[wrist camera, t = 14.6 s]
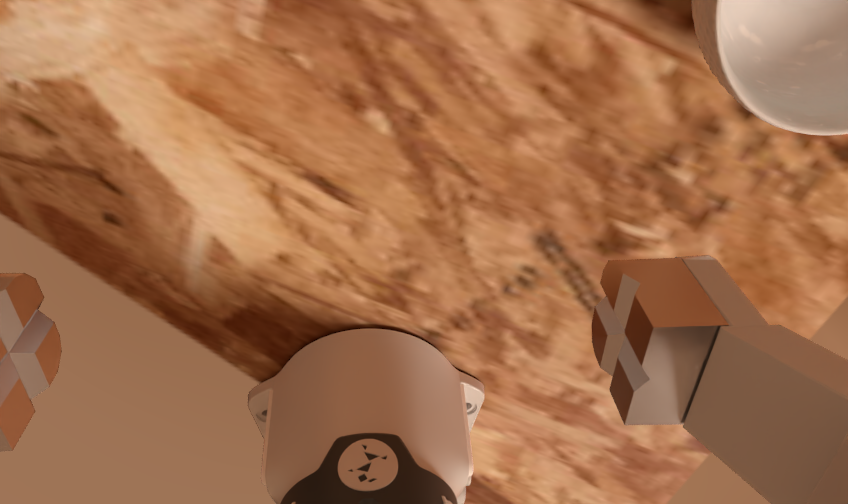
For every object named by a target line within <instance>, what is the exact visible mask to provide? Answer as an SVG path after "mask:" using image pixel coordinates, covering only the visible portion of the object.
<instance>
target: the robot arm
mask: <svg viewBox="0 0 848 504" xmlns="http://www.w3.org/2000/svg"><path fill="white" fill-rule="evenodd" d="M600 284H601V286H602V288H603V290H604V292H605V294H606V297H604V298H603V299H602V300H601V301H600V302H599V303H598V304H597V305H596V306H595V309H594V314H593V320H592V343H593V348H594V352H595V356H596V358H597V361H598V363H599V366H600V368H602V369H603V370H604V371H606V372H607V373H609V374H610V375H611V376H613V378H612V382H611V386H610V392H611V395H612V397H613V399H614V402H615V404H616V406H617V409H618V411H619V413H620V416H621V418H622V420H623V423H624V425H668V424H684V425H683V428H685V429H686V430H687V431H688V432H689V433H690V434H691V435H693V436H694V437H695V438H696V439H697V440H698V441H700V442H701V443H702V444H703V445H704V446H705V447H706V448H708V449H709V450H710V451H711V452H712V453H713V454H714V455H716V456H717V457H718V458H719V459H720V460H722V461H723V462H724V463H725V464H726V465H727V466H728V467H729V468H731V469H732V470H733V471H734V472H735V473H736V474H738V475H739V476H740V477H741V478H742V479H743V480H744V481H746V482H747V483H748V484H749V485H750V486H751V487H752V488H754V489H755V490H756V491H757V492H758V493H759V494H760V495H762V496H763V497H764V498H765V499H766V500H767V501H769V502H770V503H771V504H848V360H847V359H845V358H843V357H841V356H839V355H837V354H835V353H833V352H831V351H829V350H828V349H826V348H824V347H822V346H820V345H818V344H816V343H814V342H812V341H810V340H808V339H806V338H804V337H802V336H800V335H799V334H797V333H795V332H793V331H791V330H789V329H787V328H785V327H783V326H781V325H769V324H768V323H767V322H766V321H765V319H764V318H763V317H762V316H761V314H760V313H759V312H758V311H757V309H756V308H755V307H754V306H753V304H752V303H751V302H750V301H749V299H748V298H747V297H746V296H745V294H744V293H743V292H742V291H741V289H740V288H739V287H738V286H737V284H736V283H735V282H734V281H733V279H732V278H731V277H730V276H729V274H728V273H727V272H726V271H725V269H724V268H723V267H722V266H721V264H720V263H719V262H718V261H717V260H716V259H715V258H713V257H711V256H709V255H707V256H688V257H675V258H663V259H635V260H608V262H607V264H606V265H605V267H604V269H603V273H602V277H601V282H600ZM43 299H44V296H43V294H42V291H41V289H40V287H39V285H38V283H37V281H36V279H35V278H33V277H31V276H29V275H27V274H25V273H0V451H12V450H13V449H14V447H15V446H16V444H17V442H18V441H19V438H20V437H21V435H22V434H23V432H24V430H25V429H26V427H27V425H28V423H29V422H30V420H31V418H32V416H33V414H34V413H35V409H34V407H33V404H32V401H31V399H32V398H34V397H35V396H37V395H38V394H40V393H41V392H43V391H44V390H46V389H47V388H48V387H50V385H51V383H52V381H53V379H54V377H55V376H56V374H57V372H58V368H59V363H60V357H61V352H62V351H61V343H60V335H59V333H58V330H57V328H56V325H55V323H54V322H53V321H52V320H51V319H49V318H48V317H47V316H45V315H44V314H43V313H41V312H40V311H39V310H38V309H39V307H40V305H41V303H42V301H43ZM483 401H484V386H483V384H482V383H481V382H480V381H478V380H477V379H475V378H473V377H471V376H469V375H467V374H465V373H462V372H460V371H458V370H457V369H456V368H454V367H453V366H452V365H451V363H450V362H449V361H448V360H447V359H446V358H445V356H444V355H443V354H442V353H441V352H439V351H438V350H437V349H436V348H434V347H433V346H432V345H430V344H428V343H427V342H425V341H423V340H421V339H419V338H417V337H414V336H412V335H409V334H405V333H402V332H398V331H392V330H386V329H355V330H348V331H342V332H338V333H334V334H331V335H328V336H325V337H323V338H320V339H318V340H316V341H314V342H312V343H310V344H308V345H307V346H305V347H304V348H302V349H301V350H300V351H298V352H297V353H296V354H295V355H294V356H293V357H292V358H291V359H290V360H289V361H288V362H287V364H286V365H285V366H284V367H283V369H282V370H281V371H280V372H279V373H278V374H277V375H276V376H275V377H273V378H271V379H268V380H267V381H265V382H263V383H261V384H259V385H257V386H256V387H254V388H253V389H252V390H251V391H250V392H249V395H248V407H249V410H250V412H251V413H252V416H253V418H254V420H255V422H256V424H257V426H258V428H259V430H260V432H261V434H262V436H263V438H264V448H263V458H262V469H261V482H262V484H263V485H265V486H267V490H268V492H269V494H270V496H271V498H272V499H273V500H274V502H275V503H276V504H464V501H465V495H466V486H469V485H470V483H471V475H472V474H473V458H472V449H471V441H470V431H471V429H472V427H473V424H474V422H475V420H476V417H477V415H478V413H479V410H480V408H481V406H482V403H483Z"/></svg>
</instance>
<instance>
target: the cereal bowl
mask: <svg viewBox="0 0 848 504" xmlns="http://www.w3.org/2000/svg"><path fill="white" fill-rule="evenodd" d="M691 3H692V18H693V20H694V28H695V35H696V36H697V38H698V42H699V47H700V49H701V51H702V53H703V55H704V59H705V60H706V63H707V64H708V65H709V67H710V70H711V71H712V73H713V74H714V75H715V76H716V77H717V79H718V80H719V82H720V84H721V85H722V86H724V87H725V89H726V90H727V91H728V93H729V94H731V95H732V96H733V97H734V99H736V100H737V102H739V103H740V104H741V105H742V106H743V107H744V108H745V109H747V110H748V111H750V112H752V113H753V114H754V115H755V116H756V117H757V118H759V119H761V120H763V121H765V122H767V123H769V124H771V125H773V126H776V127H779V128H782V129H786V130H789V131H793V132H797V133H803V134H809V135H841V134H848V0H692V2H691Z"/></svg>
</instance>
